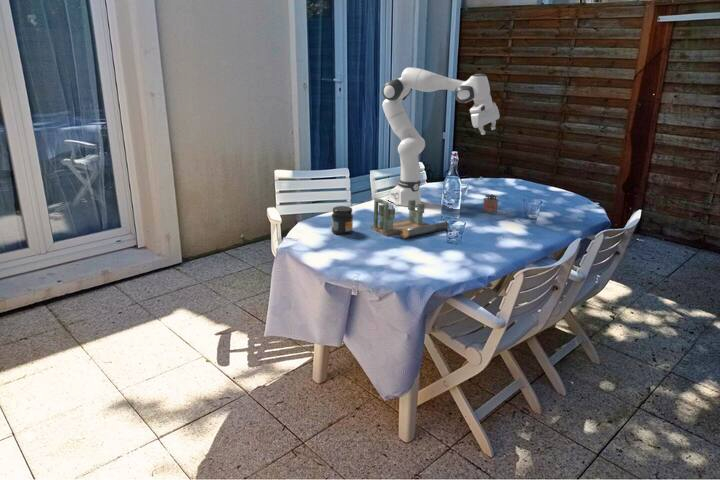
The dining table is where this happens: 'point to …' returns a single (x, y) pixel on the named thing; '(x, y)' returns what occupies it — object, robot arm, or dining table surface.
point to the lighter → (490, 204)
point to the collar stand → (388, 215)
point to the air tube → (423, 229)
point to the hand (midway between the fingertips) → (488, 132)
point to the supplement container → (342, 220)
